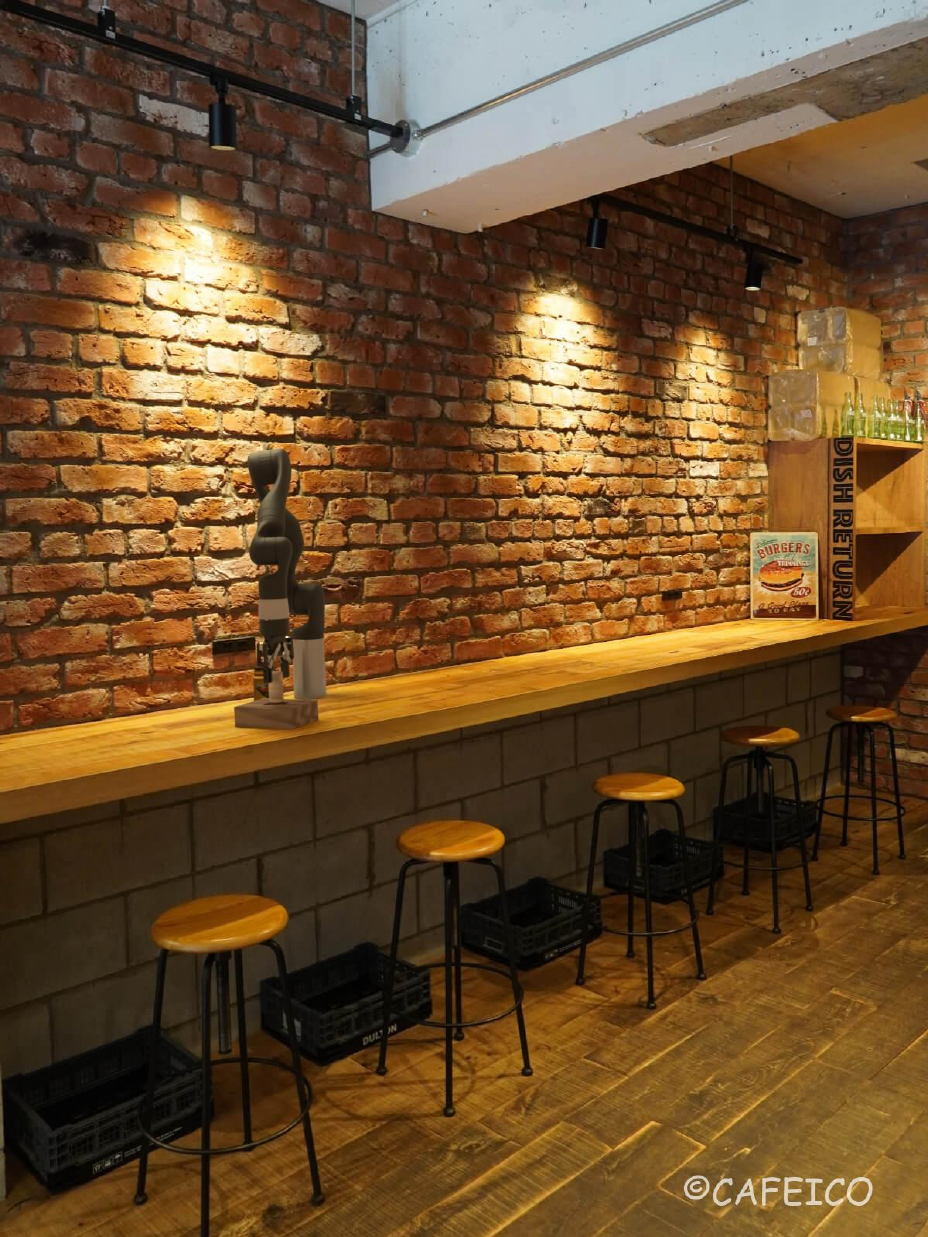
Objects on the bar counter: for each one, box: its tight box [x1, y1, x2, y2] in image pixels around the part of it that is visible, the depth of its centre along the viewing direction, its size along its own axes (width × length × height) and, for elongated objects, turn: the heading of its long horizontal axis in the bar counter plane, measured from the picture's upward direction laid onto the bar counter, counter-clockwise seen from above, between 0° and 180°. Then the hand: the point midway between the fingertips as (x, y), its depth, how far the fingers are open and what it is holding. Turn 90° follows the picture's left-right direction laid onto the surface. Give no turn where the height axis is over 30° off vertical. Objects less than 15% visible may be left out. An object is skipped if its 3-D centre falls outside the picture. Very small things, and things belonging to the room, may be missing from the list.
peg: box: [268, 670, 285, 706], centre depth 265 cm, size 4×4×13 cm
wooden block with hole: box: [233, 698, 319, 730], centre depth 265 cm, size 14×16×5 cm
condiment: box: [252, 665, 275, 701], centre depth 287 cm, size 7×8×12 cm
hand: (276, 680), depth 265 cm, fingers open, 8 cm apart
